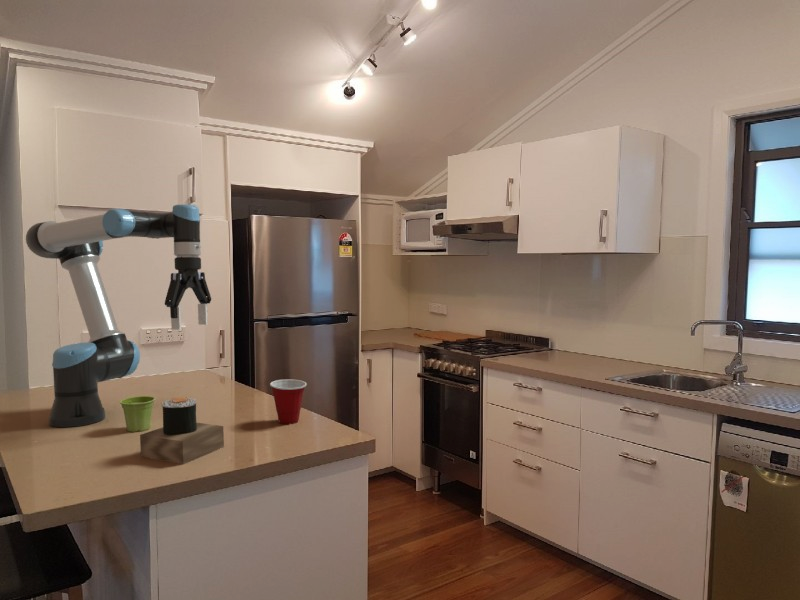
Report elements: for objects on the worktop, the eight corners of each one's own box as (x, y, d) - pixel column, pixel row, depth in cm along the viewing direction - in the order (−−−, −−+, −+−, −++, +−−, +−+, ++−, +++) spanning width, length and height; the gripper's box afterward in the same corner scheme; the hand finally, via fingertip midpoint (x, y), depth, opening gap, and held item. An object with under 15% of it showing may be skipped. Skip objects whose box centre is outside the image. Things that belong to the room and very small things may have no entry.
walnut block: (140, 458, 143) (139, 434, 143) (183, 442, 156) (182, 420, 156) (183, 466, 138) (182, 441, 137) (224, 448, 150) (223, 426, 150)
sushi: (162, 427, 149) (161, 397, 148) (196, 424, 152) (195, 394, 151) (162, 436, 141) (161, 404, 141) (198, 432, 144) (197, 401, 144)
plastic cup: (290, 428, 166) (289, 387, 166) (263, 423, 172) (262, 383, 171) (315, 419, 175) (314, 380, 175) (288, 415, 181) (287, 377, 180)
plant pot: (163, 426, 171) (162, 397, 170) (139, 435, 162) (138, 404, 161) (138, 423, 174) (137, 395, 173) (113, 432, 165) (112, 402, 164)
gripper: (172, 256, 161) (175, 331, 162) (221, 256, 185) (223, 322, 186) (149, 256, 163) (152, 331, 164) (200, 257, 187) (202, 322, 188)
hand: (190, 326), depth 175 cm, fingers open, 13 cm apart
